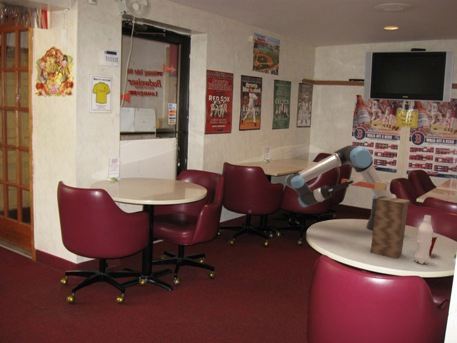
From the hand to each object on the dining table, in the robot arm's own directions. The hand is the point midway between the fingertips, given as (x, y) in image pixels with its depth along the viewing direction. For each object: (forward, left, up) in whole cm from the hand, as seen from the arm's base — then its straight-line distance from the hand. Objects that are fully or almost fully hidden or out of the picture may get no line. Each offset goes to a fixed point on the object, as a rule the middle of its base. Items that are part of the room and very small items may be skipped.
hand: (359, 178), depth 253 cm
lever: (+2, +2, -4) cm, 5 cm away
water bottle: (+27, +25, -39) cm, 54 cm away
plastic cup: (+15, +35, -39) cm, 54 cm away
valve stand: (+13, +13, -38) cm, 43 cm away
